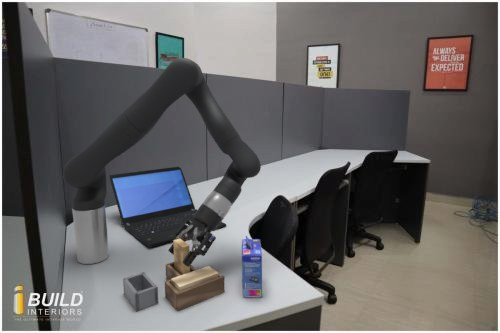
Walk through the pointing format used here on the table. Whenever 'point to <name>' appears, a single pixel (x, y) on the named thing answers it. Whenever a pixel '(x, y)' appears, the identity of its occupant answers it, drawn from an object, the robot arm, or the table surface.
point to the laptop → (153, 203)
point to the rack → (191, 289)
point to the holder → (142, 297)
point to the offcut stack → (193, 278)
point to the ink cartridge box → (252, 268)
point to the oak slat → (180, 256)
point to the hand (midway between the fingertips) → (177, 258)
